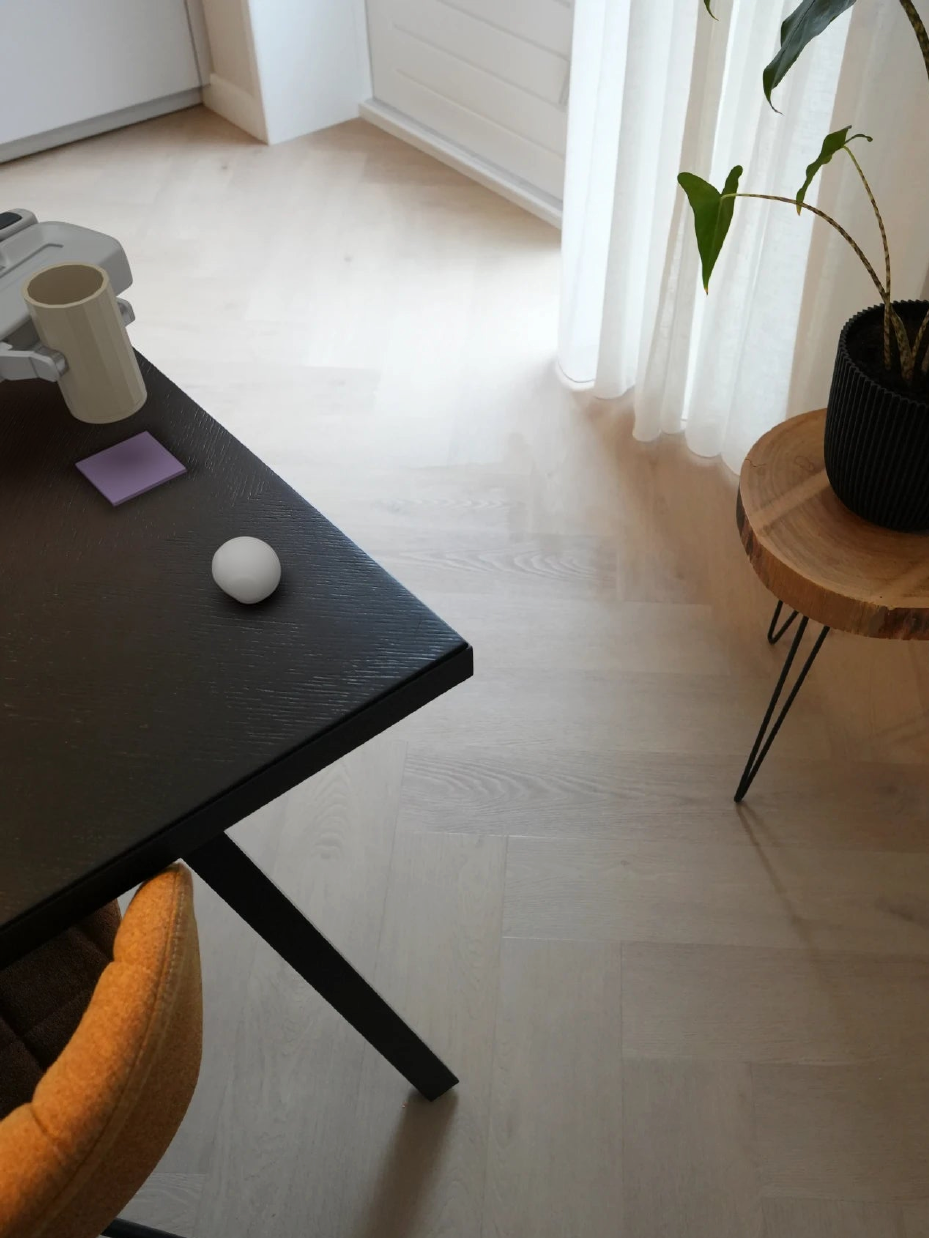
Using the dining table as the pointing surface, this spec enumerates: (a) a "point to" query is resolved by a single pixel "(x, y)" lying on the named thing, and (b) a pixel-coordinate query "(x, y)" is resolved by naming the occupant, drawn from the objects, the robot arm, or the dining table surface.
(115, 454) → the napkin
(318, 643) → the dining table surface
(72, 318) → the cup
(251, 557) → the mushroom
